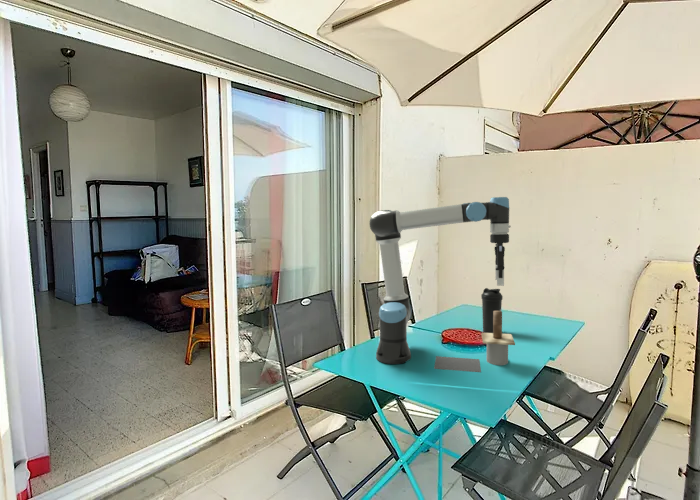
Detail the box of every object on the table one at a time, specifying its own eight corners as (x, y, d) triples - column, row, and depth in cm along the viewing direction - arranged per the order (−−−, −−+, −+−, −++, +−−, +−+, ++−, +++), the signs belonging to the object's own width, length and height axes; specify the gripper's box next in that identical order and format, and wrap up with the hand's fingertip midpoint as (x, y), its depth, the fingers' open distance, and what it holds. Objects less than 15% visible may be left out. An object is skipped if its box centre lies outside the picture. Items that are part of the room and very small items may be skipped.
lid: (483, 343, 160) (483, 314, 159) (481, 334, 172) (481, 307, 171) (515, 345, 157) (515, 315, 156) (511, 335, 169) (511, 308, 168)
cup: (509, 367, 161) (509, 343, 160) (488, 366, 162) (488, 342, 161) (505, 359, 169) (505, 336, 168) (485, 358, 170) (485, 335, 170)
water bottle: (499, 336, 199) (500, 291, 196) (479, 334, 204) (479, 289, 202) (503, 331, 207) (504, 288, 205) (483, 328, 213) (484, 286, 210)
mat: (434, 370, 160) (434, 368, 160) (435, 357, 173) (435, 356, 173) (481, 373, 155) (481, 372, 155) (479, 360, 168) (479, 359, 168)
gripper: (511, 235, 157) (511, 288, 159) (506, 231, 180) (506, 277, 182) (491, 235, 159) (491, 287, 161) (489, 232, 182) (489, 277, 184)
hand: (499, 282), depth 172 cm, fingers open, 13 cm apart
